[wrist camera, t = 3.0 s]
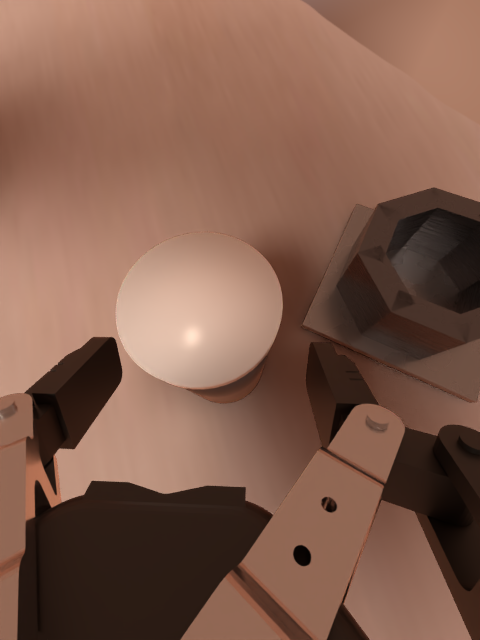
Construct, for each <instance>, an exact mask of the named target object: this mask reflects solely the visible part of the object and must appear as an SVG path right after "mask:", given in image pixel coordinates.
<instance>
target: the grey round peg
mask: <svg viewBox="0 0 480 640" xmlns="http://www.w3.org/2000/svg"><path fill="white" fill-rule="evenodd" d="M282 310H283V299H282V292H281V286H280V283H279V281H278V278H277V276H276V274H275V272H274V270H273V268H272V267H271V265H270V264H269V262H268V261H267V260H266V259H265V257H264V256H263V255H262V254H261V253H260V252H258V251H257V250H256V249H255V248H254V247H252V246H251V245H249V244H247V243H246V242H244V241H242V240H240V239H238V238H235V237H232V236H229V235H225V234H221V233H214V232H195V233H187V234H183V235H179V236H176V237H173V238H170V239H168V240H166V241H164V242H161V243H160V244H158V245H156V246H155V247H153V248H151V249H150V250H149V251H148V252H146V253H145V254H144V255H143V256H142V257H141V258H140V259H139V260H138V261H137V262H136V263H135V264H134V265H133V267H132V268H131V269H130V271H129V272H128V274H127V275H126V277H125V279H124V281H123V283H122V285H121V287H120V291H119V294H118V297H117V303H116V325H117V330H118V334H119V337H120V340H121V342H122V344H123V346H124V348H125V350H126V351H127V353H128V354H129V356H130V357H131V358H132V359H133V361H134V362H135V363H136V364H137V365H138V366H140V367H141V368H142V369H143V370H144V371H146V372H147V373H149V374H150V375H152V376H154V377H156V378H158V379H160V380H162V381H164V382H166V383H169V384H171V385H174V386H177V387H181V388H185V389H187V390H189V391H191V392H193V393H195V394H197V395H199V396H201V397H203V398H205V399H207V400H209V401H212V402H215V403H232V402H235V401H238V400H240V399H242V398H244V397H246V396H247V395H248V394H249V393H251V391H252V390H253V389H254V388H255V387H256V385H257V384H258V382H259V380H260V377H261V374H262V371H263V368H264V364H265V361H266V358H267V354H268V352H269V350H270V348H271V347H272V345H273V343H274V340H275V338H276V335H277V332H278V329H279V326H280V322H281V318H282Z"/></svg>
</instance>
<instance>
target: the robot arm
mask: <svg viewBox="0 0 480 640" xmlns="http://www.w3.org/2000/svg"><path fill="white" fill-rule="evenodd" d="M121 378H122V366H121V362H120V357H119V353H118V348H117V343H116V340H115V339H114V338H112V337H93V338H91V339H90V340H89V341H88V342H87V343H86V344H85V345H84V346H83V347H81V348H80V349H78V350H76V351H74V352H72V353H70V354H68V355H67V356H65V357H64V358H63V359H62V360H61V361H60V362H59V363H58V365H55V366H54V367H53V368H52V369H51V371H50V372H47V373H46V374H45V375H44V376H43V377H42V378H41V379H39V380H38V381H37V382H36V383H35V384H34V385H33V386H32V387H30V388H29V389H28V390H27V391H26V392H25V393H17V394H11V395H7V396H4V397H1V398H0V640H369V638H368V637H367V635H366V634H365V633H364V631H363V630H362V629H361V627H360V626H359V625H358V623H357V622H356V621H355V619H354V618H353V617H352V615H351V614H350V612H349V611H348V610H347V608H346V607H345V606H344V602H345V599H346V597H347V594H348V591H349V588H350V586H351V583H352V580H353V577H354V574H355V572H356V569H357V566H358V563H359V560H360V557H361V555H362V552H363V549H364V546H365V544H366V541H367V538H368V535H369V533H370V530H371V527H372V524H373V522H374V519H375V516H376V513H377V511H378V508H379V505H380V503H381V500H384V501H387V502H390V503H392V504H395V505H398V506H401V507H404V508H407V509H409V510H412V511H415V513H416V515H417V517H418V520H419V522H420V524H421V526H422V529H423V531H424V533H425V535H426V538H427V540H428V542H429V544H430V547H431V549H432V551H433V553H434V556H435V558H436V560H437V562H438V565H439V567H440V569H441V571H442V574H443V576H444V578H445V580H446V583H447V585H448V587H449V589H450V592H451V594H452V596H453V598H454V601H455V603H456V605H457V607H458V610H459V612H460V614H461V616H462V619H463V621H464V623H465V625H466V628H467V630H468V632H469V634H470V637H471V639H472V640H480V432H478V431H476V430H473V429H471V428H468V427H464V426H460V425H447V426H444V427H442V428H441V429H440V431H439V433H438V436H434V435H431V434H427V433H423V432H419V431H415V430H412V429H409V428H406V427H404V424H403V422H402V421H401V419H400V418H399V417H398V416H397V415H396V414H394V413H393V412H392V411H390V410H388V409H386V408H384V407H381V406H379V405H378V403H377V401H376V399H375V398H374V396H373V394H372V393H371V391H370V389H369V387H368V386H367V384H366V382H365V381H364V380H363V377H362V375H361V374H360V373H359V370H358V369H357V367H356V365H355V363H354V362H352V361H351V360H350V359H349V358H347V357H346V356H345V355H337V354H336V352H335V350H334V348H333V346H332V344H331V343H327V342H311V344H310V348H309V356H308V364H307V372H306V387H307V392H308V395H309V399H310V403H311V406H312V410H313V414H314V418H315V421H316V425H317V429H318V432H319V436H320V440H321V444H322V447H321V448H320V449H319V450H318V451H317V452H316V454H315V455H314V457H313V458H312V459H311V461H310V462H309V464H308V465H307V467H306V468H305V470H304V471H303V473H302V474H301V476H300V477H299V479H298V480H297V482H296V483H295V484H294V486H293V487H292V489H291V490H290V492H289V493H288V495H287V496H286V498H285V499H284V501H283V502H282V504H281V505H280V506H279V508H278V509H277V511H276V512H275V514H274V515H272V514H271V513H270V512H268V511H267V510H265V509H264V508H262V507H260V506H258V505H256V504H253V503H251V502H248V501H245V493H246V487H224V486H204V487H199V488H194V489H189V490H185V491H180V492H175V493H170V494H162V493H159V492H156V491H153V490H150V489H147V488H144V487H141V486H138V485H135V484H132V483H129V482H106V481H92V482H91V483H90V485H89V487H88V489H87V491H86V492H85V494H84V495H82V496H78V497H75V498H72V499H69V500H67V501H65V502H61V493H60V484H59V474H58V465H57V459H56V457H55V453H56V452H57V450H58V449H59V448H62V449H75V448H76V446H77V445H78V443H79V442H80V440H81V439H82V437H83V436H84V435H85V433H86V432H87V430H88V429H89V427H90V426H91V424H92V423H93V422H94V420H95V419H96V417H97V416H98V414H99V413H100V411H101V410H102V408H103V407H104V406H105V404H106V403H107V401H108V400H109V398H110V397H111V395H112V394H113V393H114V391H115V390H116V388H117V387H118V385H119V384H120V382H121Z"/></svg>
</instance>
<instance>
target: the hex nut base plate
mask: <svg viewBox="0 0 480 640" xmlns="http://www.w3.org/2000/svg"><path fill="white" fill-rule="evenodd" d="M301 327H303V328H305V329H307V330H309V331H312V332H314V333H316V334H318V335H321V336H323V337H325V338H327V339H330V340H332V341H334V342H336V343H338V344H341V345H343V346H345V347H347V348H350V349H352V350H354V351H356V352H359V353H361V354H363V355H365V356H367V357H370V358H372V359H374V360H376V361H379V362H381V363H383V364H385V365H388V366H390V367H392V368H394V369H396V370H399V371H401V372H403V373H405V374H408V375H410V376H412V377H414V378H417V379H419V380H421V381H423V382H425V383H428V384H430V385H432V386H434V387H437V388H439V389H441V390H443V391H446V392H448V393H450V394H452V395H454V396H457V397H459V398H461V399H463V400H466V401H468V402H470V403H472V402H477V399H478V394H479V390H480V202H477V201H474V200H471V199H468V198H465V197H462V196H459V195H456V194H452V193H449V192H446V191H443V190H440V189H437V188H431V189H427V190H424V191H420V192H417V193H414V194H410V195H407V196H404V197H400V198H397V199H394V200H390V201H387V202H384V203H380V204H378V205H377V207H376V208H375V210H373V209H371V208H368V207H365V206H362V205H359V204H356V206H355V208H354V210H353V213H352V215H351V217H350V219H349V222H348V224H347V226H346V228H345V230H344V233H343V235H342V237H341V239H340V242H339V244H338V246H337V248H336V250H335V253H334V255H333V257H332V259H331V261H330V264H329V266H328V268H327V270H326V273H325V275H324V277H323V279H322V281H321V284H320V286H319V288H318V290H317V293H316V295H315V297H314V299H313V301H312V304H311V306H310V308H309V310H308V313H307V315H306V317H305V319H304V321H303V324H302V326H301Z"/></svg>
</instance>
